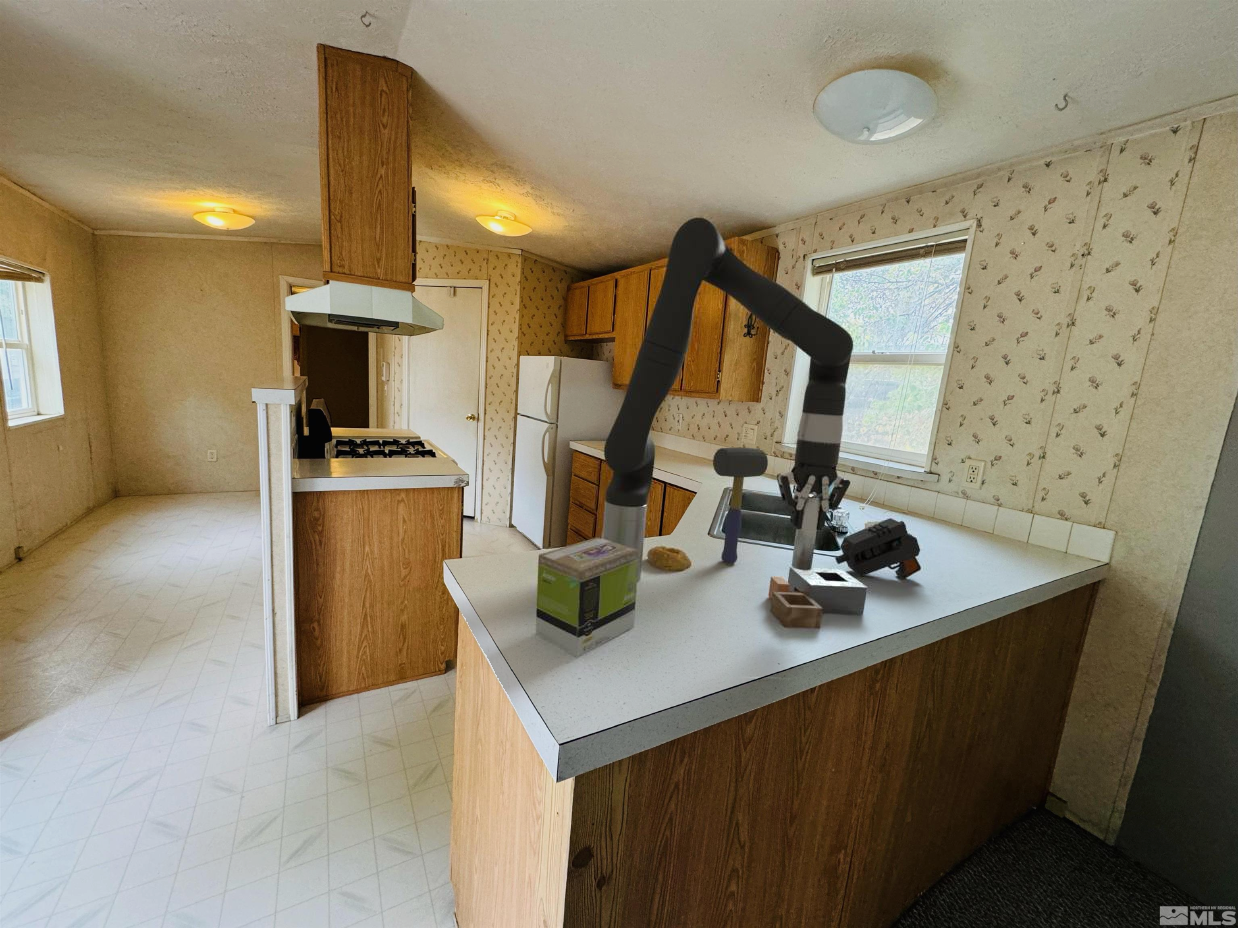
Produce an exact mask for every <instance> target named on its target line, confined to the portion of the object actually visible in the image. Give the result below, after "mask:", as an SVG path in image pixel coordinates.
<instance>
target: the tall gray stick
mask: <svg viewBox="0 0 1238 928" xmlns="http://www.w3.org/2000/svg"><path fill="white" fill-rule="evenodd" d="M820 504H821V497H819V496H817V495H814V494H813V493H809V495H808V498H807V499H806V500H805V502H804V505H803V508H802V509H801V510H802V511H803V513H802V521H801V528H800V529H795V537H794V544H793V552H792V560H791V567H794V568H796V569H799V570H811V568H813V559H814V552H815V544H816V537H817V533H818V532H817V531H818V530H817V525H818V518H819V511H820Z"/></svg>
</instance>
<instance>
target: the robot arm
mask: <svg viewBox="0 0 1238 928" xmlns="http://www.w3.org/2000/svg"><path fill="white" fill-rule="evenodd" d="M703 282H705V283H708V284H709V285H712V286H713V287H716V288H718V289H719V290H720V291H722V292H723V293H725V294H727V295H728V296H730V297H732V299H734V300H735V301H736V302H738V303H739V304H740V306H743V307H744V308H745V309H746V310H747V311H748V312H749V313H751V314H752V315H753V316H755V318H756V319H758V320H759V321H760V322H761V323H762V324H764V325H765V326H766V327H768V328H769V329H771V330H772V331H773V332H775V333H776V334H777V335H778V336H780V337H782V338H784V340H787V341H789V342H791V343H793V344H794V345H795V346H796V347H797V348H798V349H800V350H801V351H802V352H803V353H805V354H806V355H807V356H808V357H809V358H810V359H809V360H810V362H809V369H808V370H809V372H808V382H807V385H806V387H805V392H804V397H803V403H802V410H801V411H802V412H801V416H800V420H799V424H798V429H797V434H796V435H797V439H796V447H795V454H794V465H793V467H792V468H791V470H790V472H786V473H778V474H777V475H776V480H777V483H778V489H779V492H780V496H781V501H782V503H783V504H785V505H786V506H788V507H790V508H791V510H790V517H789V524H790V525H791V526H792V528H794V529H795V530H796V529H800V528H801V521H802V513H803V511H802V510H801V509H802V508H803V505H804V502H805V500H806V499H807V498H808V495H809V494H813V495H817V496H819V497H821V504H820V511H819V518H818V525H817V531H822V529H823V528H824V527H825V525H826V521H827V519H826V518H827V512H828V511H829V510H832V509H834V510H837V509H838V507H839V506H840V505H841V502H842V500H843V498H844V496H845V494H846V493H847V491H848V489H849V487H850V486H851V481H850V480H849V479H847V478H845V477H841V476H839V475H838V472H837V466H838V465H839V464H838V463H839V457H840V451H841V444H842V435H843V425H844V424H843V423H844V422H843V421H844V420H843V418H844V411H845V405H846V404H845V403H846V396H847V395H846V392H847V389H846V384H847V379H848V373H849V370H850V364H851V357H852V353H853V351H854V340H853V337H852V335H851V334H850V332H849V331H848V330H847V329H846V328H844V327H843V326H841V325H840V324H838V323H837V322H835V321H834V320H832V319H830V318H829V317H827V316H825V315H823V314H822V313H820V312H818V311H817V310H814V309H813V308H812V307H811V306H810V305H809V304H807V303H806V302H805V301H803V300H802V299H801V298H799V296H797V295H795V293H793V292H791V291H790V290H788V289H787V288H786V287H784V286H783V285H781V284H779V283H778V282H776V281H774V280H772V279H770V278H769V277H766V276H764V275H763V274H761V273H760V272H757V271H755V270H754V269H753V268H751V267H750V266H749V265H747V264H746V263H744V262H743V260H741V259H740V258H739V257H738V256H737V254H735V253H734V252H733V251H732V250H731V248H730V247H729V246H727V245H726V243H725V241H724V239H723V237H722V235H721V233H720V232H719V231H718V228H717V227H715V225H714V224H713V222H711V221H710V220H708V219H707V218H704V217H693V218H691V219H688V220H686V221H685V222H684V223H683V224H682V225H681V226H680V227H679V228H678V230H676V232H675V234H674V236H673V239H672V242H671V245H670V249H669V254H668V259H667V262H666V268H665V272H664V276H663V280H662V284H661V287H660V290H659V293H658V296H657V300H656V302H655V305H654V307H653V310H652V313H651V316H650V319H649V322H648V325H647V328H646V330H645V333H644V335H643V338H642V341H641V345H640V347H639V350H638V352H637V356H636V359H635V363H634V367H633V370H632V372H631V375H630V379H629V382H628V386H627V389H626V392H625V396H624V399H623V402H622V404H621V407H620V409H619V411H618V414H617V416H616V418H615V420H614V423H613V425H612V428H611V429H610V432H609V434H608V436H607V438H606V441H605V443H604V448H603V456H604V460H605V462H606V465H607V466H608V467H609V469H610V470H612V477H611V479H610V482H609V484H608V486H607V487H606V489H605V498H604V513H603V522H602V523H603V524H602V525H603V526H602V530H601V539H604V540H608V541H611V542H614V543H617V544H620V545H624V546H627V547H631V548H634V549H637V550H639V552H638V570H637V583H638V582H640V580H641V576H642V568H643V567H642V566H643V565H642V563H643V557H644V556H643V555H644V554H643V553H644V552H643V551H644V546H645V545H644V543H645V542H644V541H645V533H646V532H645V531H646V521H647V520H646V519H647V509H648V500H649V499H648V498H649V494H650V492H651V489H652V484H653V478H654V477H653V476H654V468H655V459H656V447H655V442H654V440H653V438H652V437H651V435H650V432H651V427H652V425H653V422H654V419H655V416H656V414H657V412H658V410H659V408H660V407H661V405H662V403H664V401H665V399H666V398H667V396H668V395H669V394H670V393H669V392H670V391H671V389H672V388H673V386H674V385H675V383H676V381H677V379H678V376H679V374H680V372H681V369H682V366H683V364H684V361H685V358H686V355H687V352H688V349H689V345H690V341H691V335H692V334H691V333H692V327H693V326H692V325H693V317H694V308H695V302H696V299H697V296H698V293H699V291H700V288H701V285H702V283H703ZM792 480H794V483H795V487H794V491H793V492H792V488H791V485H792V482H793V481H792ZM832 485H833V488H832V489H831V491H830V490H829V488H830V487H831V486H832Z"/></svg>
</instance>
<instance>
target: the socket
mask: <svg viewBox="0 0 1238 928" xmlns="http://www.w3.org/2000/svg"><path fill="white" fill-rule="evenodd" d="M788 570H789V571H788V578H787V582H788V583H789V584H790V585H789V591H800V592H801V593H806V594H808V595H809V596H810V597H811V598H812V599H813V600H814V601H815V602H816V603H817V604H818V605H820V606H821V607H822V608H823V611H822V615H824V614H828V615H829V614H830V615H849V616H850V615H851V616H852V615H855V616H863V615H864V610H865V605H866V598H867V592H868V586H867V585H865V584H864V583H862V582H860V581H859V580H858V579H856V578H855V577H854V576H852V575H850V574H849V573H848V572H846V571H845V570H843V569H842V568H822V567H821V568H819V567H812V568H811V570H799V569H796V568H794V567H792V566H789V569H788Z"/></svg>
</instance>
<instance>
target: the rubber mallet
mask: <svg viewBox="0 0 1238 928" xmlns="http://www.w3.org/2000/svg"><path fill="white" fill-rule="evenodd" d="M712 466H713V470H714V471H715V473H716V474H717V475H718V476H721V477H729V478H733V481H732V489H731V497H730V504H729V505H730V506H729V508H728V509H727V513H726V517H725V518H726V519H725V526H724V529H725V530H724V531H725V533H724V535H725V536H724V544H723V551H722V553H721V557H720V558H721V561H722V562H724V564H725V563H726V564H725V565H730V566H734V565H735V564H734V563H736V562H737V561H738V541H739V535H740V532H741V525H742V509H741V507H742V497H743V496H742V495H743V489H744V488H743V487H744V482H745V481H744V478H755V477H761V476H763V475H764V474H765V473H766V471H767V469H768V466H769V459H768V456H767V454H766V452H765V451H764V450H763V449H760V448H752V447H745V446H743V447H741V446H740V447H721V448H719V449H717V450H716V451H715V453H714V455H713V459H712ZM733 564H734V565H733Z"/></svg>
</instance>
